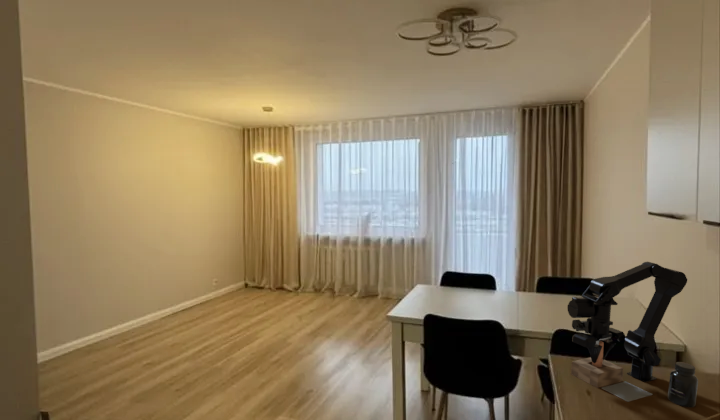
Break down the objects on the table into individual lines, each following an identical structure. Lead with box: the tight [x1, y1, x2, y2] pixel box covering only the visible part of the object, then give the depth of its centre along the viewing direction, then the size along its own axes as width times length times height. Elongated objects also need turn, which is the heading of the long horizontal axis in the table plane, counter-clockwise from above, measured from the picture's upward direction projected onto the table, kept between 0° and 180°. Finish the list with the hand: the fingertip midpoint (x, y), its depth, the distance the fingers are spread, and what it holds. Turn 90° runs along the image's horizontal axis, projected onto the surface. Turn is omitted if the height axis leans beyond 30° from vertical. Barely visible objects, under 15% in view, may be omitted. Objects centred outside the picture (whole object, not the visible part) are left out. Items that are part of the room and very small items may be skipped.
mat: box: [601, 381, 653, 402], centre depth 135 cm, size 12×9×1 cm
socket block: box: [570, 356, 624, 389], centre depth 144 cm, size 12×10×5 cm
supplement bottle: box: [667, 361, 699, 408], centre depth 129 cm, size 7×7×12 cm
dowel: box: [592, 341, 604, 368], centre depth 143 cm, size 3×3×10 cm
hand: (597, 361), depth 143 cm, fingers closed on dowel, 3 cm apart
